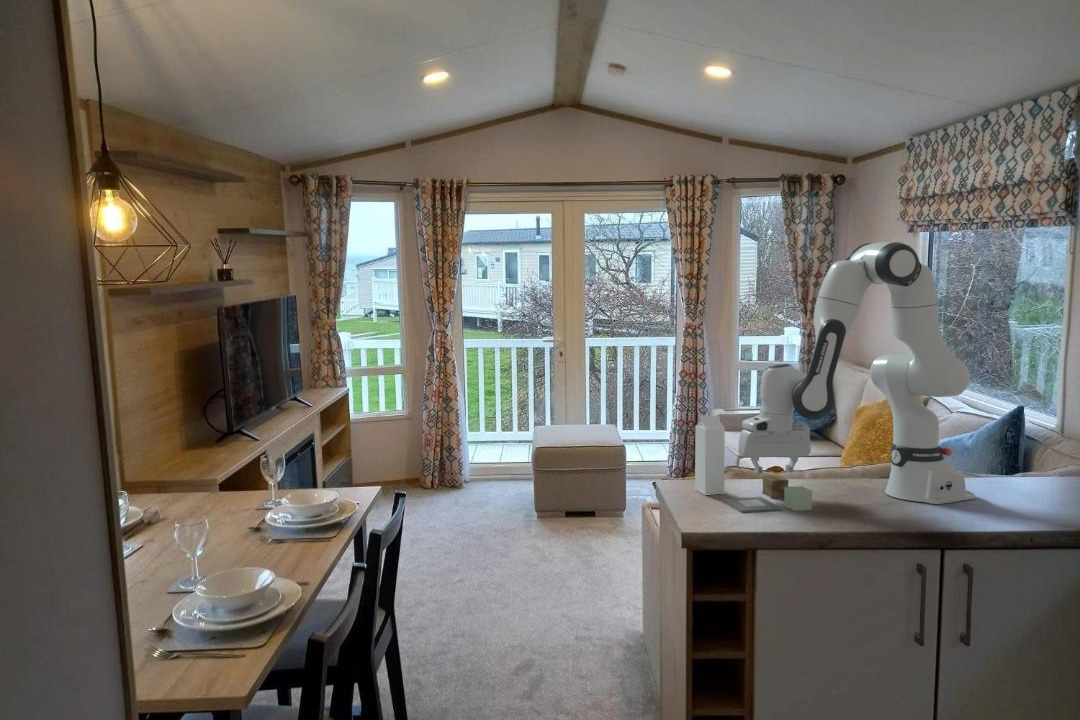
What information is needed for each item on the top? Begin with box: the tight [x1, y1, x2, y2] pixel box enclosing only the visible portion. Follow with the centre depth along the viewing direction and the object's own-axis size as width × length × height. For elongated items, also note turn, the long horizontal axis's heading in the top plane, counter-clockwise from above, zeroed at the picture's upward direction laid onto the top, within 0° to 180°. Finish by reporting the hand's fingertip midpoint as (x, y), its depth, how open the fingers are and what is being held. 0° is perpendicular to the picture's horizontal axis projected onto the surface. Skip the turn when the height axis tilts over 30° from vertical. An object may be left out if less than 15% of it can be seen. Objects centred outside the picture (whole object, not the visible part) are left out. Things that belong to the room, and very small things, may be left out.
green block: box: [783, 485, 813, 512], centre depth 189 cm, size 5×5×5 cm
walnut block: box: [762, 475, 789, 499], centre depth 201 cm, size 5×5×5 cm
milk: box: [694, 414, 726, 495], centre depth 204 cm, size 6×6×22 cm
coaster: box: [722, 496, 782, 514], centre depth 191 cm, size 11×11×1 cm
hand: (773, 472), depth 200 cm, fingers open, 8 cm apart
